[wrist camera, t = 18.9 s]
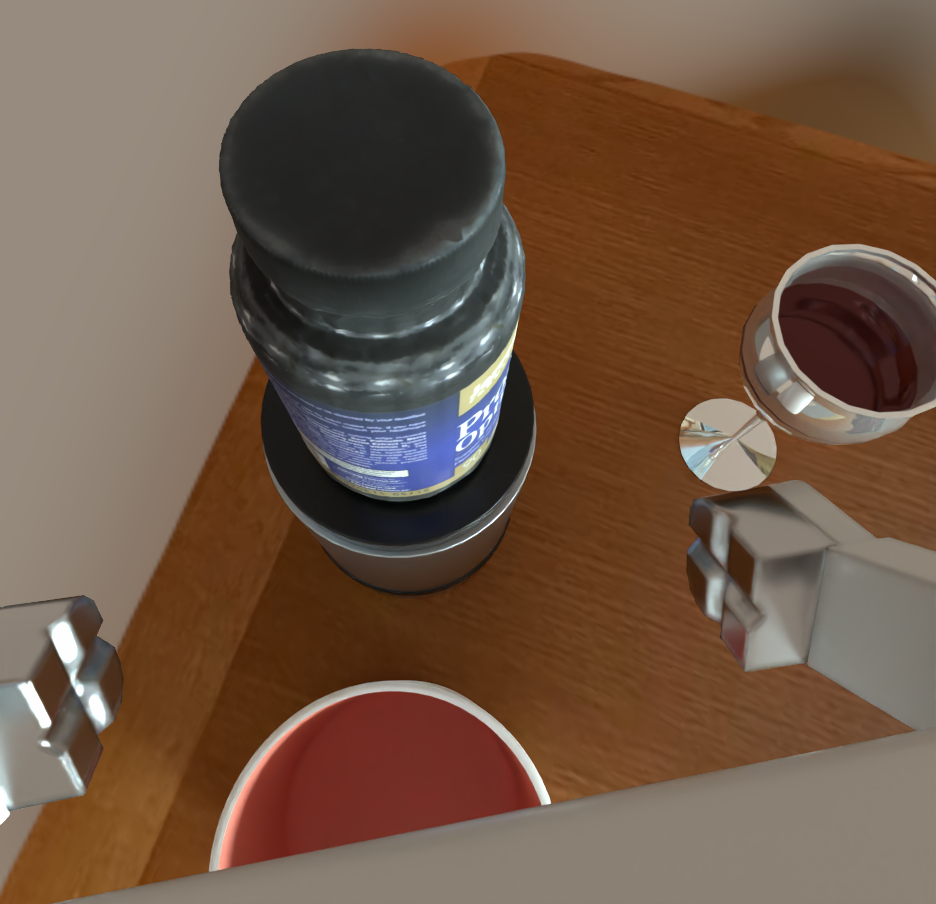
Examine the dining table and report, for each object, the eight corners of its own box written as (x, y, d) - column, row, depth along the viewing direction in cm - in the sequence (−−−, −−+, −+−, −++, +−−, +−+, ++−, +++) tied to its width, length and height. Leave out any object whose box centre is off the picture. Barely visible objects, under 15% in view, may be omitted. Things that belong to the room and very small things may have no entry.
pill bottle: (492, 512, 21) (547, 337, 10) (289, 499, 20) (131, 309, 10) (501, 330, 22) (553, 26, 12) (315, 317, 22) (206, -1, 12)
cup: (234, 817, 28) (130, 886, 19) (400, 632, 31) (382, 611, 21) (409, 1007, 26) (391, 1191, 17) (571, 794, 29) (634, 850, 20)
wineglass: (661, 502, 33) (775, 410, 22) (661, 376, 35) (764, 233, 24) (798, 515, 33) (983, 430, 22) (790, 388, 36) (954, 251, 24)
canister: (317, 608, 31) (246, 567, 20) (316, 420, 34) (253, 289, 23) (517, 592, 32) (560, 544, 20) (498, 409, 35) (527, 276, 23)
